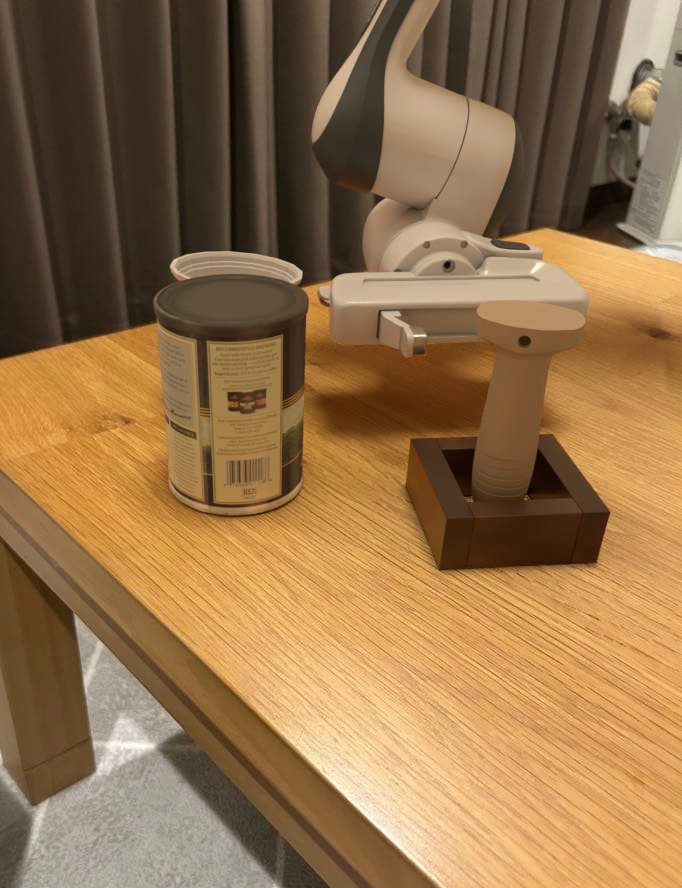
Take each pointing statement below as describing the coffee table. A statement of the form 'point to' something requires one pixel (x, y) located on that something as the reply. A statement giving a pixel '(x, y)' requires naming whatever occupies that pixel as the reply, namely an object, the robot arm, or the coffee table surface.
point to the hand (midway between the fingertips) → (480, 345)
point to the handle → (517, 390)
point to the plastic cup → (233, 266)
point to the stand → (504, 509)
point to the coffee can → (233, 390)
